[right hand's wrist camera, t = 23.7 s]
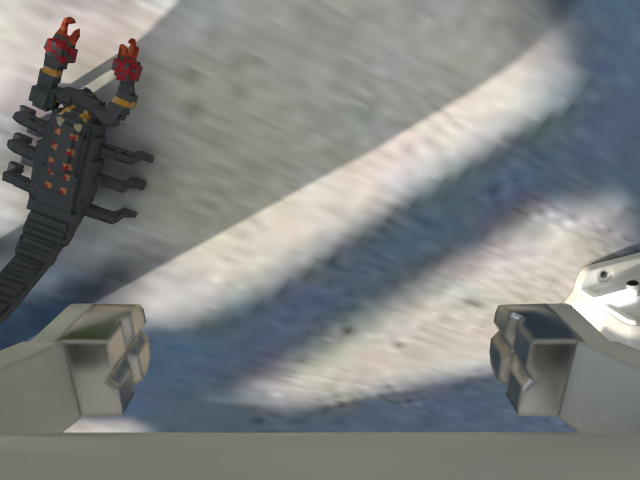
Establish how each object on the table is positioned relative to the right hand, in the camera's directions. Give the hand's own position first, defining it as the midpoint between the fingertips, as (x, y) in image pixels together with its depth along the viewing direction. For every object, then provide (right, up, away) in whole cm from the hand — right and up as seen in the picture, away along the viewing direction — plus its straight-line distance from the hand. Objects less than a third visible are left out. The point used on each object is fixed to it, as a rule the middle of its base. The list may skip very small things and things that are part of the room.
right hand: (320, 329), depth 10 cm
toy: (-24, +11, +36) cm, 44 cm away
